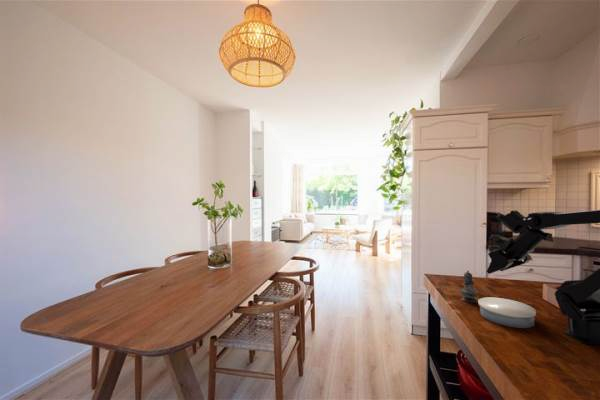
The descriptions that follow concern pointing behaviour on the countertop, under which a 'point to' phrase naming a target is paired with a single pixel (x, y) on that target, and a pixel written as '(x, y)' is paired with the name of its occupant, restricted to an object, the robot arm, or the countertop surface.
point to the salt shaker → (468, 289)
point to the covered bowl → (507, 312)
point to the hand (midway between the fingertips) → (494, 271)
